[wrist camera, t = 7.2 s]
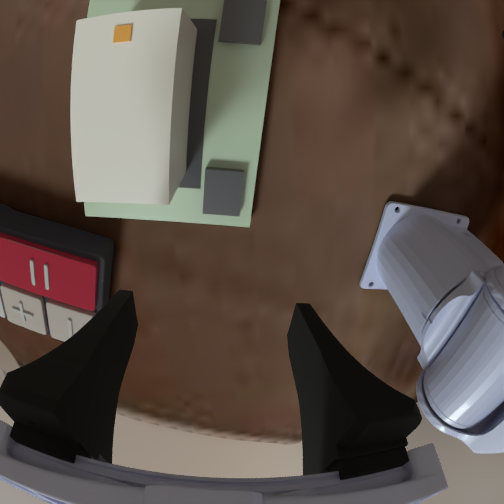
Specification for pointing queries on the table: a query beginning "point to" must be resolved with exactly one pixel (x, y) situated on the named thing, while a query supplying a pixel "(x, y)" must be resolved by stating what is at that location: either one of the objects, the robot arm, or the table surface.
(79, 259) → the calculator
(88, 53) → the block
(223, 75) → the pcb board
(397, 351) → the table surface
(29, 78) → the table surface
